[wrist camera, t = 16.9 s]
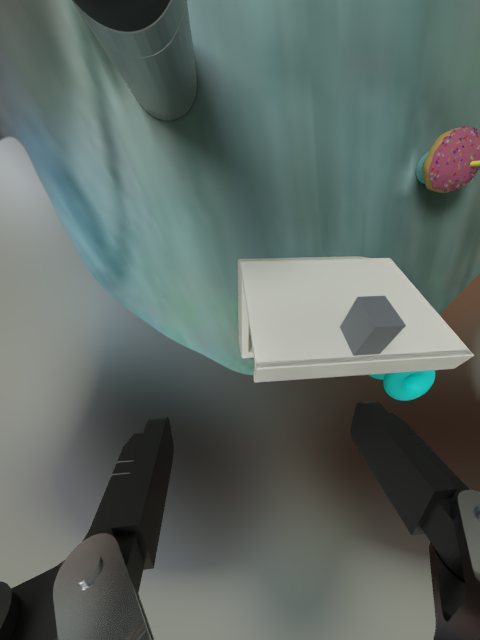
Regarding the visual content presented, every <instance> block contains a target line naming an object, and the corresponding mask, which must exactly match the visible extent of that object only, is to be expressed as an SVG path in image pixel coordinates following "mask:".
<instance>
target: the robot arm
mask: <svg viewBox="0 0 480 640" xmlns="http://www.w3.org/2000/svg"><path fill="white" fill-rule="evenodd" d="M72 1H73V3H74V4H75V6H76V7H77V9H78V11H79V12H80V14H81V15H82V17H83V18H84V20H85V21H86V23H87V24H88V26H89V27H90V29H91V30H92V32H93V33H94V35H95V36H96V38H97V39H98V41H99V42H100V44H101V46H102V47H103V49H104V50H105V52H106V53H107V55H108V56H109V58H110V59H111V61H112V62H113V64H114V65H115V67H116V69H117V70H118V72H119V73H120V75H121V76H122V78H123V79H124V81H125V82H126V84H127V86H128V87H129V89H130V90H131V92H132V93H133V95H134V96H135V98H136V99H137V101H138V102H139V104H140V105H141V106H142V107H143V108H144V109H145V110H146V111H147V112H148V113H149V114H151V115H152V116H153V117H155V118H158V119H160V120H166V121H170V120H176V119H178V118H181V117H182V116H183V115H185V114H186V113H187V112H188V111H189V109H190V108H191V106H192V104H193V102H194V100H195V96H196V91H197V75H196V67H195V59H194V51H193V44H192V36H191V29H190V22H189V14H188V7H187V0H72ZM351 436H352V439H353V442H354V444H355V445H356V447H357V448H358V450H359V452H360V453H361V455H362V456H363V458H364V460H365V461H366V463H367V464H368V466H369V468H370V469H371V471H372V473H373V474H374V475H375V477H376V479H377V481H378V482H379V484H380V485H381V487H382V489H383V490H384V491H385V493H386V495H387V497H388V498H389V500H390V501H391V503H392V504H393V506H394V508H395V509H396V511H397V512H398V514H399V516H400V517H401V519H402V521H403V522H404V524H405V526H406V527H407V528H408V530H409V532H410V534H411V535H417V534H426V536H427V537H428V539H429V540H430V543H429V557H430V567H431V577H432V587H433V597H434V606H435V617H436V629H435V635H434V640H480V492H477V491H473V490H470V489H469V488H468V487H467V486H466V485H465V484H464V483H463V482H462V481H461V480H460V479H459V478H458V477H457V476H456V475H455V474H454V473H453V471H452V470H451V469H450V468H449V467H448V466H447V465H446V464H445V463H444V462H443V461H442V460H441V459H440V458H439V457H438V456H437V455H436V454H435V452H434V451H433V450H432V449H431V448H430V447H429V446H427V445H426V443H425V442H424V441H423V440H422V439H421V438H420V437H419V436H417V433H416V432H415V431H414V430H413V429H412V428H411V427H410V426H409V425H408V424H407V423H406V422H405V421H403V420H402V419H400V418H399V417H398V416H396V415H394V414H393V413H389V412H388V411H387V410H386V409H385V408H384V407H383V406H382V405H381V404H380V403H379V402H377V401H370V402H359V403H357V405H356V408H355V413H354V417H353V420H352V424H351ZM173 455H174V443H173V437H172V431H171V425H170V420H169V417H161V418H149V419H148V421H147V424H146V427H145V430H144V433H140V434H134V435H133V436H132V437H131V438H130V440H129V441H128V442H127V443H126V444H125V446H124V447H123V449H122V452H121V454H120V456H119V459H118V463H117V464H116V466H115V469H114V471H113V475H112V477H111V478H110V481H109V483H108V486H107V488H106V491H105V493H104V496H103V498H102V501H101V503H100V505H99V508H98V510H97V513H96V515H95V518H94V520H93V523H92V525H91V527H90V530H89V532H88V533H87V535H86V537H85V539H84V540H83V541H82V542H81V543H80V544H79V545H78V546H77V547H76V548H75V549H74V550H73V551H72V552H71V553H70V554H69V555H68V557H67V558H66V559H65V560H64V561H63V562H62V563H60V564H59V565H57V566H56V567H54V568H52V569H50V570H48V571H46V572H44V573H42V574H40V575H39V576H36V577H34V578H32V579H30V580H28V581H26V582H24V583H22V584H20V585H18V586H16V587H14V588H12V589H11V588H10V587H9V586H8V584H6V583H4V582H0V640H154V637H153V635H152V631H151V629H150V626H149V623H148V620H147V617H146V614H145V611H144V608H143V605H142V603H141V600H140V597H139V594H138V592H139V586H140V582H141V577H142V572H143V570H144V569H152V568H154V563H155V558H156V552H157V546H158V541H159V535H160V529H161V523H162V519H163V512H164V507H165V502H166V496H167V491H168V485H169V479H170V474H171V468H172V463H173Z"/></svg>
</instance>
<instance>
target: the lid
mask: <svg viewBox="0 0 480 640" xmlns="http://www.w3.org/2000/svg"><path fill="white" fill-rule="evenodd" d="M240 267H241V274H242V281H243V287H244V294H245V301H246V308H247V314H248V321H249V328H250V335H251V342H252V348H253V355H254V362H255V370H254V382H268V381H283V380H297V379H311V378H326V377H340V376H355V375H370V374H384V373H399V372H413V371H428V370H442V369H454V368H456V367H457V366H459V365H460V364H462V363H464V362H465V361H467V360H468V359H470V358H471V357H473V356H474V355H473V354H472V352H471V351H470V350H469V349H468V348H467V347H466V345H465V344H464V343H463V342H462V341H461V340H460V338H459V337H458V336H457V335H456V334H455V333H454V332H453V330H452V329H451V328H450V327H449V326H448V325H447V323H446V322H445V321H444V320H443V319H442V318H441V316H440V315H439V314H438V313H437V312H436V311H435V310H434V308H433V307H432V306H431V305H430V304H429V303H428V301H427V300H426V299H425V298H424V297H423V296H422V294H421V293H420V292H419V291H418V290H417V289H416V288H415V286H414V285H413V284H412V283H411V282H410V281H409V279H408V278H407V277H406V276H405V275H404V274H403V272H402V271H401V270H400V269H399V268H398V267H397V265H396V264H395V263H394V262H393V261H392V260H391V259H390V258H369V259H327V260H285V261H242V262H240Z"/></svg>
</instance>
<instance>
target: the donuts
mask: <svg viewBox="0 0 480 640" xmlns="http://www.w3.org/2000/svg"><path fill="white" fill-rule="evenodd" d="M370 376H371V377H373V378H376V379H384V381H383V385H384V389H385V391H386V392H387V393H388V394H389V396H391V397H392V398H394V399H397V400H403V401H406V400H412V399H415V398H417V397H420V396H421V395H423V394H424V393H426V392H427V391H428V390H429V389H430V387H431V386H432V384H433V382H434V379H435V370H428V371H413V372H399V373H384V374H370Z"/></svg>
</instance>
